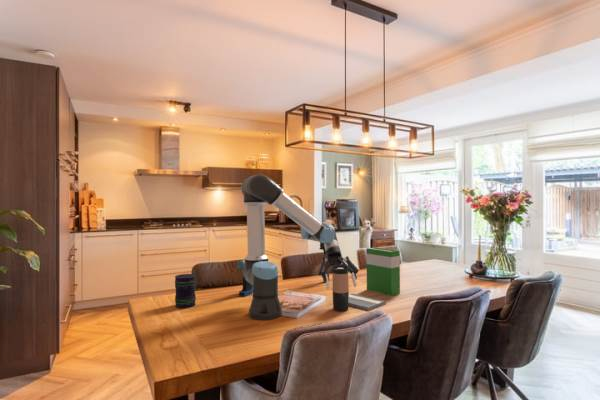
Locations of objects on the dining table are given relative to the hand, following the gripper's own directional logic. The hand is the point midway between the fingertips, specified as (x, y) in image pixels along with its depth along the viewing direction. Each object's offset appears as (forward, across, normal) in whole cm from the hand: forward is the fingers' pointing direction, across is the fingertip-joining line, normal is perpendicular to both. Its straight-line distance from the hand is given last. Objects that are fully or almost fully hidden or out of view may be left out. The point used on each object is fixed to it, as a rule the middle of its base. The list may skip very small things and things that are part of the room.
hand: (342, 286), depth 168 cm
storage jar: (-8, +75, -24) cm, 79 cm away
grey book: (+2, -12, -13) cm, 18 cm away
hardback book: (-10, -33, -26) cm, 43 cm away
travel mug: (+8, +1, -8) cm, 11 cm away
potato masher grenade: (-32, -8, -48) cm, 58 cm away
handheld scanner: (-19, +43, -35) cm, 58 cm away
